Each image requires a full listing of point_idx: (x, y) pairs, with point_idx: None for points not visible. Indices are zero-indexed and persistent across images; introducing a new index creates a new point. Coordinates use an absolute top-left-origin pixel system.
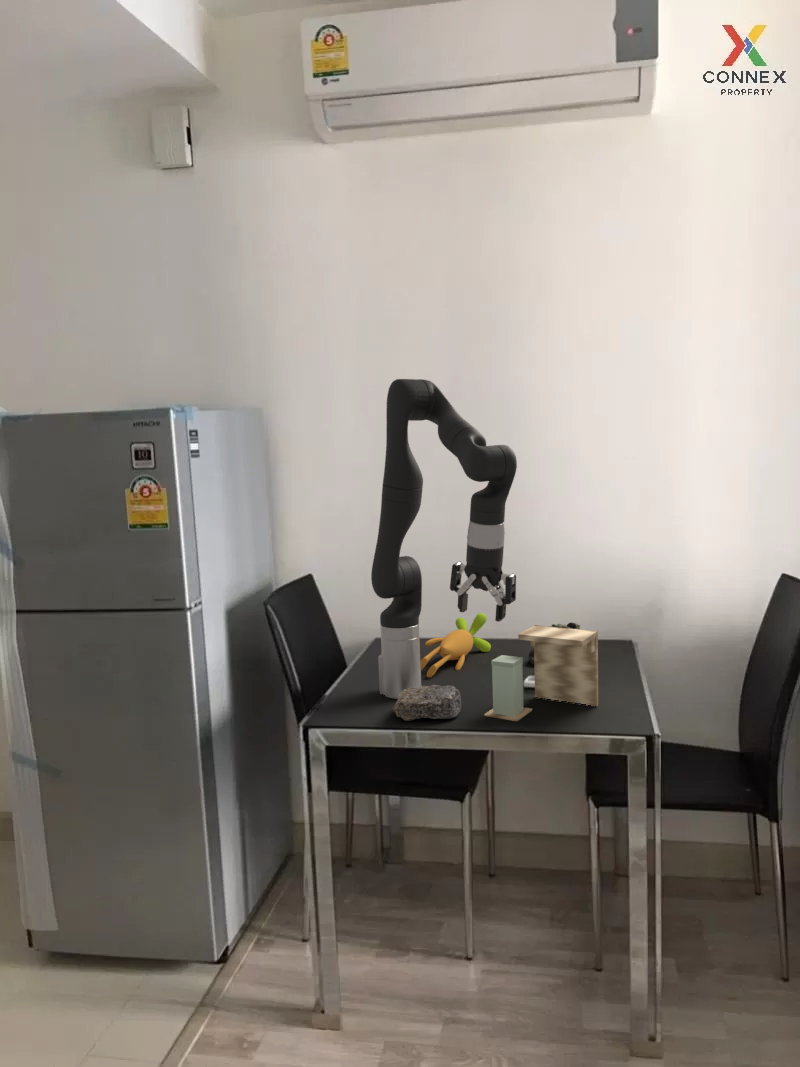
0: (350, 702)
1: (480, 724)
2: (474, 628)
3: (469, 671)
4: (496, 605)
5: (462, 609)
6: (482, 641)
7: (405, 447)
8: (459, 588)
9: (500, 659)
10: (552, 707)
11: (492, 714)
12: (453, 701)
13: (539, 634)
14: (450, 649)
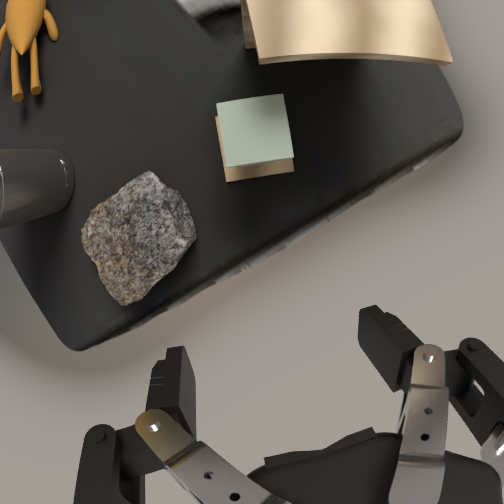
0: (34, 261)
1: (248, 221)
2: None
3: (74, 28)
4: (393, 391)
5: (194, 387)
6: None
7: None
8: (161, 468)
9: (241, 142)
10: (303, 74)
11: (240, 174)
12: (180, 226)
13: (321, 32)
14: (29, 38)
